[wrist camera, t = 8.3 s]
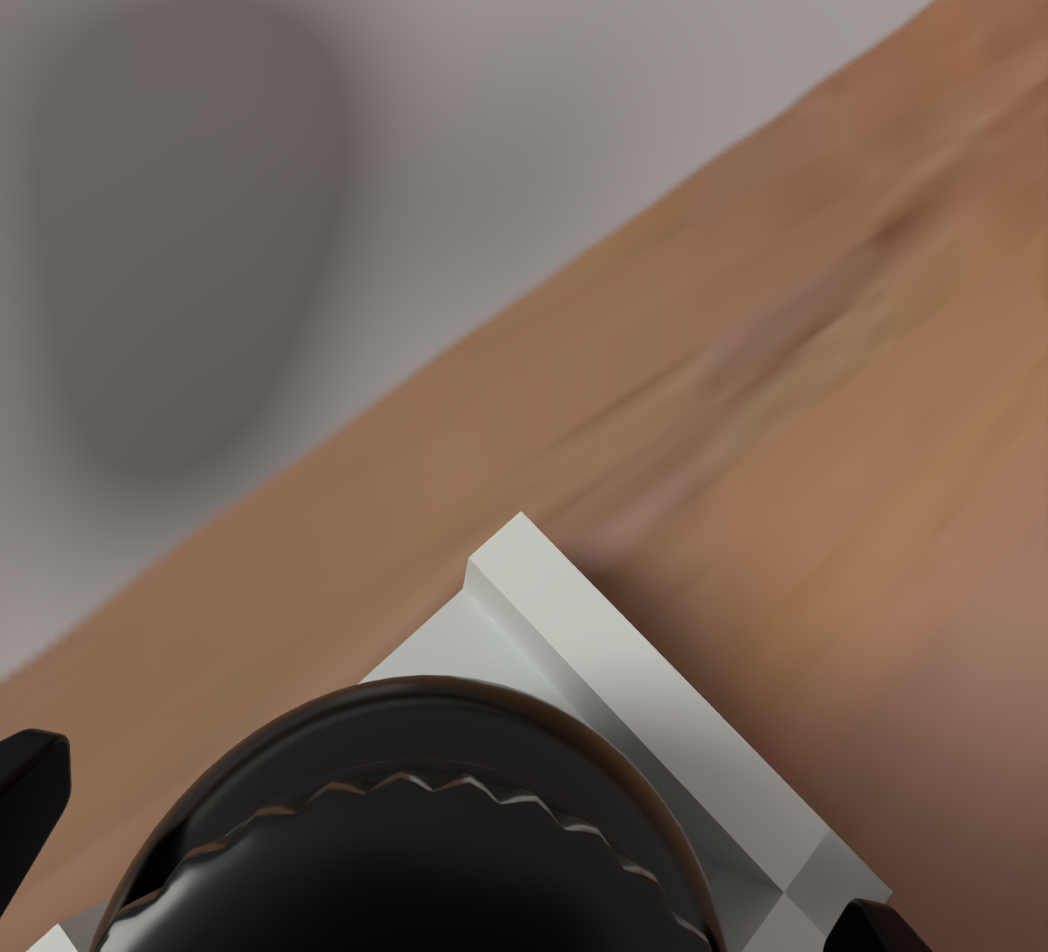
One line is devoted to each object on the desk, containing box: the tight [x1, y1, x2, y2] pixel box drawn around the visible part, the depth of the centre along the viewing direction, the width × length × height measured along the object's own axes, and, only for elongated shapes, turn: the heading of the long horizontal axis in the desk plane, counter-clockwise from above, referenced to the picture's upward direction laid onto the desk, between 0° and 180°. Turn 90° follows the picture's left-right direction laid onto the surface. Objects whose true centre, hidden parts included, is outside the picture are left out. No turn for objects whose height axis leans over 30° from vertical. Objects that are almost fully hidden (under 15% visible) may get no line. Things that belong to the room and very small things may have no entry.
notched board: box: [26, 512, 893, 952], centre depth 14 cm, size 10×12×4 cm
